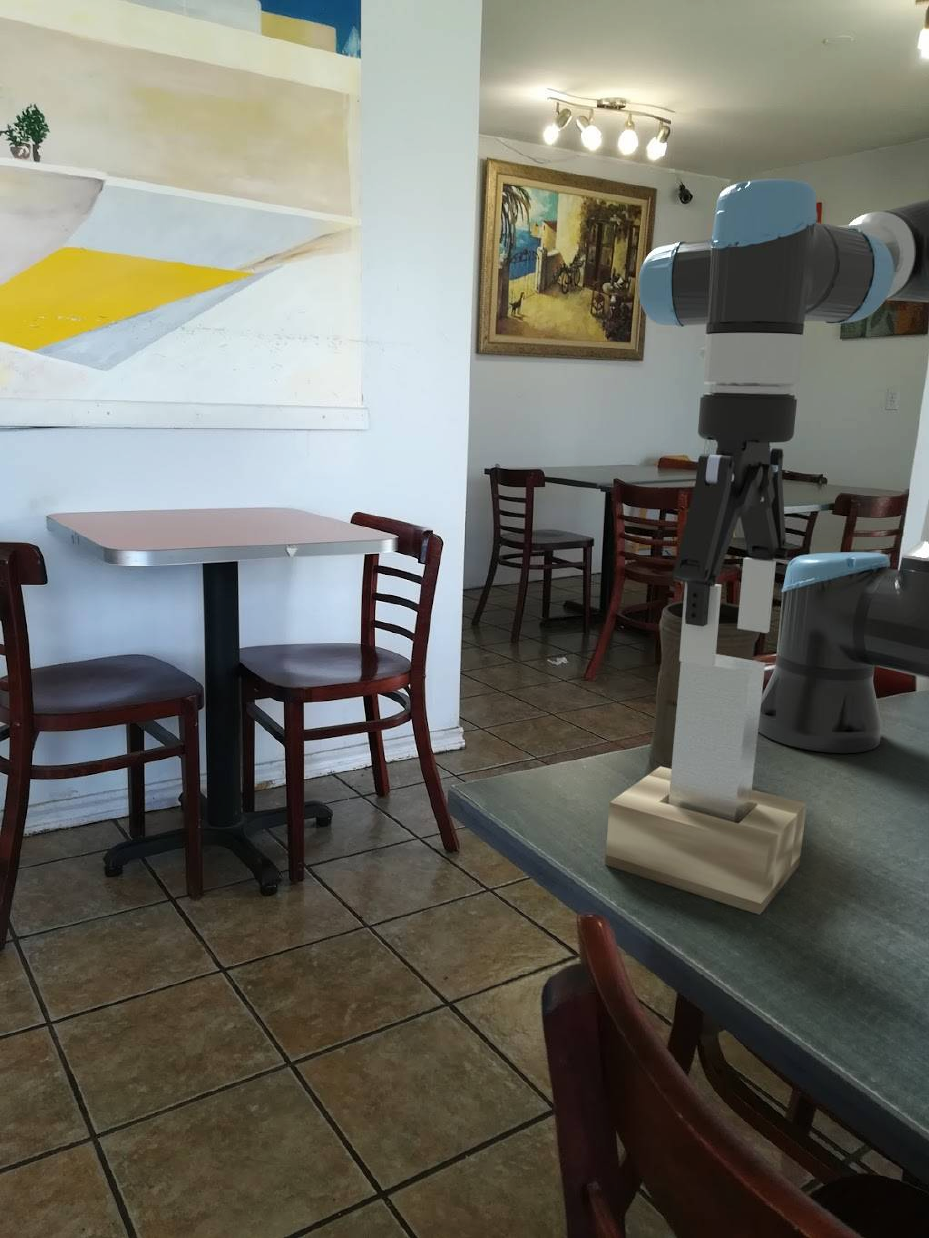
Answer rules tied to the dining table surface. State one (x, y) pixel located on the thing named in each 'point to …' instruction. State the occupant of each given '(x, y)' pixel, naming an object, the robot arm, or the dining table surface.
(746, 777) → the tall grey pillar
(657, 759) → the beer stein
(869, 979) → the dining table surface
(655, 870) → the well block
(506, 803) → the dining table surface
